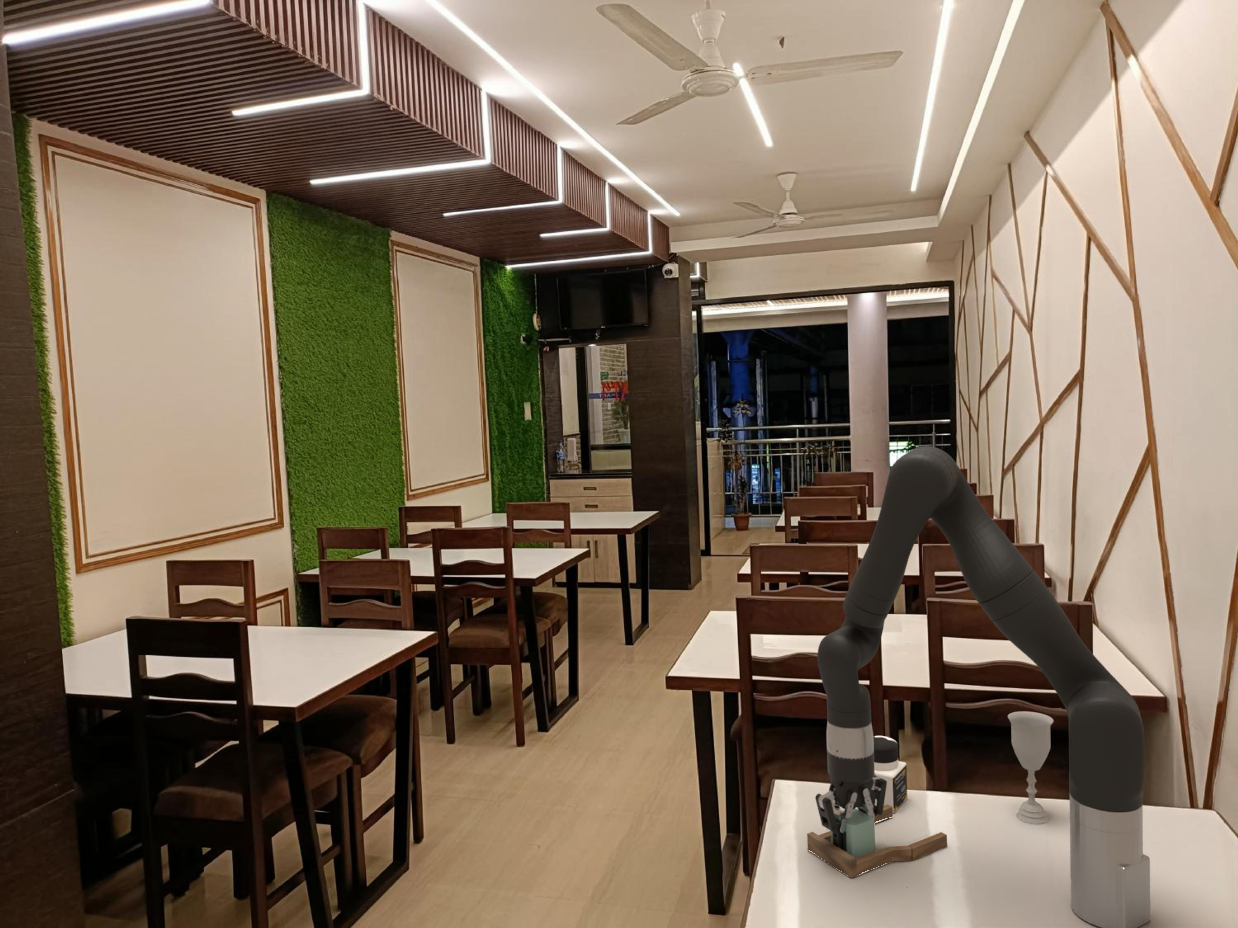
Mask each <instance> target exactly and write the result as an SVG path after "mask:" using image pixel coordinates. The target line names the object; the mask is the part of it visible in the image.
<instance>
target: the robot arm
mask: <svg viewBox="0 0 1238 928" xmlns="http://www.w3.org/2000/svg"><path fill="white" fill-rule="evenodd" d="M930 519H931V520H932V522H934V524H935V525H936V526H937V528H938V529H939V531H941V533H942V534H943V535H944V537H945V539H946V540H947V542H948V544H949V546H950V547H951V550H952V553H953V555H954V557H955V559H956V563H957V565H958V567H959V569H960V572H961V575H962V577H963V580H964V581H965V583H966V585H967V587H968V589H969V591H970V592H971V594H972V596H973V597H974V599H975V600H976V602H977V603H978V604H979V606H980V607H981V608H982V610H983V611H984V613H985V614H986V616H988V618H989V619H990V621H991V622H992V623H993V625H994V626H995V627H996V628H997V629H998V630H999V631H1000V632H1001V634H1003V636H1005V638H1006V639H1007V640H1008V641H1009V642H1011V643H1012V645H1014V646H1015V647H1016V648H1017V649H1019V650H1020V651H1021V652H1022V653H1023V654H1024V655H1025V656H1026V657H1027V658H1029V659H1030V660H1031V661H1032V662H1033V663H1034V664H1035V665H1036V666H1037V667H1038V668H1039V670H1040V671H1041V672H1042V673H1043V675H1044V677H1046V678H1047V680H1048V682H1049V683H1050V685H1051V687H1052V688H1053V689H1054V691H1055V692H1056V694H1057V696H1058V697H1059V699H1060V701H1061V703H1062V704H1063V706H1064V708H1065V710H1066V712H1067V715H1068V717H1067V719H1068V759H1069V760H1068V762H1069V764H1068V765H1069V769H1068V773H1069V774H1068V781H1069V783H1068V785H1069V786H1068V788H1069V789H1068V790H1069V849H1070V850H1069V854H1070V857H1069V859H1070V861H1069V863H1070V864H1069V865H1070V867H1069V868H1070V869H1069V871H1070V872H1069V873H1070V905H1071V906H1070V907H1071V910H1072V911H1073V912H1074V914H1075V915H1076V916H1077V917H1079V918H1080V919H1081V920H1083V921H1084V922H1087V923H1089V924H1091V925H1093V926H1096V927H1099V928H1140V927H1141V926H1143V925H1145V924H1146V923H1148V922H1150V921H1151V860H1150V859H1151V858H1150V856H1148V855H1146V854H1144V841H1143V840H1144V839H1143V838H1144V836H1143V835H1144V831H1143V830H1144V829H1143V827H1144V825H1143V824H1144V820H1143V818H1144V817H1143V816H1144V812H1143V811H1144V809H1143V806H1144V805H1143V802H1144V801H1143V800H1144V799H1143V795H1144V788H1145V752H1146V751H1145V729H1144V728H1145V727H1144V724H1143V719H1142V716H1141V715H1142V714H1141V711H1140V709H1139V706H1138V704H1137V702H1136V700H1135V699H1134V697H1133V696H1132V695H1131V694H1130V692H1128V690H1127V689H1126V688H1125V687H1124V686H1123V685H1122V684H1121V683H1120V682H1119V680H1117V679H1116V677H1114V676H1113V675H1112V674H1111V672H1109V670H1108V669H1107V668H1106V666H1104V665H1103V664H1102V663H1101V661H1100V660H1099V659H1098V658H1097V657H1096V655H1094V653H1092V652H1091V651H1090V649H1089V648H1088V647H1087V645H1086V644H1085V643H1084V642H1083V640H1082V638H1081V637H1080V636H1079V634H1078V632H1077V631H1076V629H1075V628H1074V626H1073V624H1072V622H1071V621H1070V619H1069V617H1068V616H1067V614H1066V613H1065V611H1064V610H1063V608H1062V607H1061V605H1060V604H1059V603H1058V601H1057V599H1056V598H1055V597H1054V596H1053V595H1054V594H1052V591H1050V590H1049V588H1048V586H1047V585H1046V584H1045V583H1044V581H1043V580H1042V579H1041V578H1040V576H1039V574H1037V572H1036V571H1035V569H1033V567H1032V566H1031V564H1030V563H1029V562H1028V561H1027V560H1026V559H1025V558H1024V556H1023V555H1022V553H1020V551H1019V550H1018V549H1017V547H1016V546H1015V545H1014V543H1013V542H1012V541H1011V539H1009V537H1008V536H1007V535H1006V533H1005V532H1004V531H1003V530H1002V529H1001V528H1000V526H999V525H998V524H997V523H996V522H995V521H994V520H993V518H992V516H991V515H989V514H988V512H987V511H986V510H985V508H984V507H983V505H982V504H981V502H980V500H979V499H978V497H977V495H976V493H975V492H974V491H973V488H972V487H971V486H970V484H969V482H968V481H967V479H966V477H965V475H964V473H963V472H962V471H961V469H960V467H959V466H958V463H956V461H955V460H954V458H952V456H951V455H950V454H948V453H947V452H945V450H941V449H940V448H938V447H935V446H932V445H931V446H928V445H927V446H926V445H925V446H923V445H922V446H918V447H915V448H914V449H912V450H910V451H908V452H906V453H905V454H903V455H901V456H900V458H898V459H896V461H894V462H893V464H892V466H891V467H890V470H889V473H888V477H887V480H886V486H885V489H884V494H883V498H882V503H881V507H880V510H879V515H878V518H877V520H876V521H877V522H876V524H875V528H874V531H873V534H872V536H871V538H870V541H869V543H868V545H867V548H866V550H865V552H864V555H863V557H862V560H861V562H860V563H859V565H858V567H857V570H856V572H855V574H854V577H853V579H852V581H851V584H850V586H849V588H848V590H847V593H846V594H845V595H846V596H845V598H844V601H843V604H842V609H843V613H844V615H845V618H844V621H843V623H842V624H841V627H840V628H839V629H837V630H834V631H833V632H830V633H829V634H827V635H825V636H824V637H823V638H822V639H821V641H820V643H819V645H818V649H817V655H816V657H817V660H816V661H817V667H818V670H819V674H820V678H821V682H822V687H823V688H824V691H825V693H826V694H825V695H826V710H827V712H826V713H827V714H826V716H827V717H826V718H827V722H826V723H827V724H826V754H827V755H826V758H827V759H826V760H827V773H828V775H829V776H828V777H829V778H830V785H829V787H828V791H827V792H826V793H824V794H821V793H817V794H816V795H815V799H814V800H815V802H816V806H817V810H818V815H819V818H820V822H821V825H822V827H824V828H826V829H827V830H829V831H832V834H833V844H834V845H835V846H837V847H838V848H840V849H842V850H843V851H845V852H847V844H846V832H845V830H846V824H847V821H848V819H850V818H851V815H852V810H854V809H857V810H858V811H861V812H863V813H865V814H866V815H868V816H870V817H872V818H874V820H875V816H877V815H882V813H883V807H884V800H885V793H886V786H887V781H886V780H884V779H883V778H880V777H878V776H876V775H874V774H875V771H874V741H873V736H874V730H873V726H872V725H873V724H872V706H871V704H872V703H871V695H870V691H869V689H868V688H867V687H866V686H865V685H863V684H861V683H860V680H859V674H858V673H859V670H860V669H862V668H863V667H865V666H867V665H869V663H870V662H872V660H873V659H874V657H875V656H876V653H877V652H878V649H879V648H880V647H879V646H880V643H881V640H882V637H883V632H884V629H885V628H884V627H885V621H886V618H887V617H888V615H889V614H890V613H889V612H890V610H891V609H892V606H893V604H894V601H895V600H896V597H897V595H898V593H899V591H900V589H901V586H902V583H903V579H904V578H905V577H904V576H905V573H906V569H907V565H908V562H909V559H910V556H911V553H912V551H913V548H914V546H915V543H916V541H917V540H918V537H919V536H920V534H921V532H922V530H923V529H924V527H925V526H926V524H927V523H928V521H929V520H930ZM875 799H877V805H875ZM841 808H842V809H841ZM843 810H845V811H843ZM839 816H840V817H841V819H840V823H839V822H838V819H839Z"/></svg>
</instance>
